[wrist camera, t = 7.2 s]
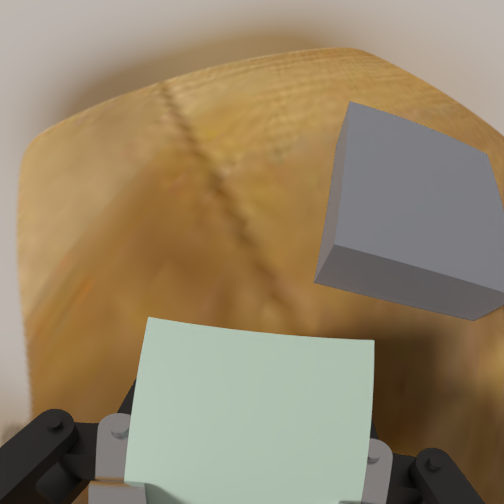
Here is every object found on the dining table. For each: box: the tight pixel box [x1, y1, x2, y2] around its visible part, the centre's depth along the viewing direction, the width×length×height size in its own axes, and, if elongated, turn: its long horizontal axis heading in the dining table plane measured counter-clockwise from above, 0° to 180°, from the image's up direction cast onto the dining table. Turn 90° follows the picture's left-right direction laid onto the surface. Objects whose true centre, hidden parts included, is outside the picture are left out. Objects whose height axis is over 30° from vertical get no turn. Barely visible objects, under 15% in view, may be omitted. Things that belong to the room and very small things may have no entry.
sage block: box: [124, 317, 374, 504], centre depth 10 cm, size 5×5×10 cm
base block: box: [314, 101, 504, 321], centre depth 18 cm, size 12×12×5 cm
